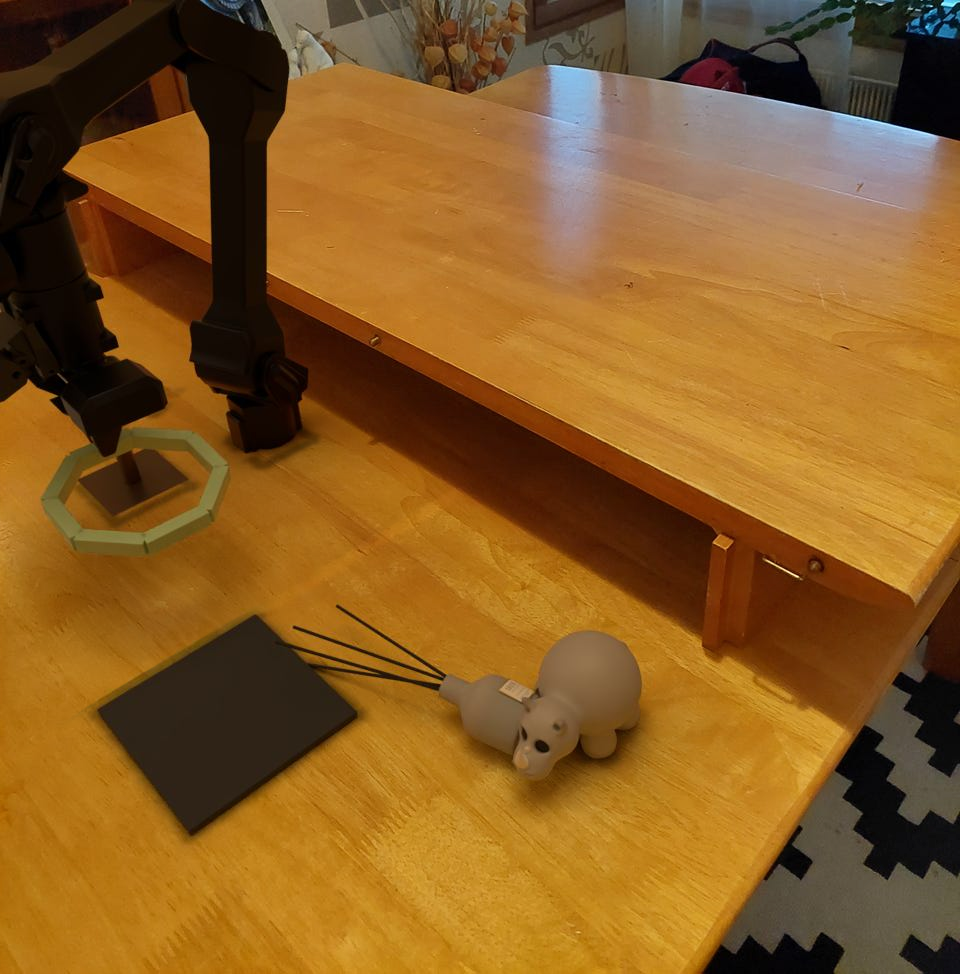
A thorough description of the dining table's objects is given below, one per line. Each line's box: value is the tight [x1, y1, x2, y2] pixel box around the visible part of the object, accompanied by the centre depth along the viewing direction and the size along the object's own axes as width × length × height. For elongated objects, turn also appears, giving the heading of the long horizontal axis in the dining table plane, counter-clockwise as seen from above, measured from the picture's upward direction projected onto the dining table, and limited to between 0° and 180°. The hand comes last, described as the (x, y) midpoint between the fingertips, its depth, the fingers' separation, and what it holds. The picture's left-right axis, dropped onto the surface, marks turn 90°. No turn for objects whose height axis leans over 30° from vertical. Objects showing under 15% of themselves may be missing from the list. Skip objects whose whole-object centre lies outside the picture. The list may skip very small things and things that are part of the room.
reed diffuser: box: [275, 604, 541, 757], centre depth 69 cm, size 10×7×20 cm
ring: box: [40, 426, 232, 558], centre depth 73 cm, size 13×13×1 cm
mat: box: [97, 613, 359, 836], centre depth 70 cm, size 14×14×1 cm
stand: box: [78, 449, 189, 517], centre depth 90 cm, size 8×8×6 cm
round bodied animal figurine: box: [512, 629, 643, 781], centre depth 64 cm, size 7×12×8 cm, turn 139°
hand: (105, 450), depth 76 cm, fingers closed on ring, 1 cm apart
